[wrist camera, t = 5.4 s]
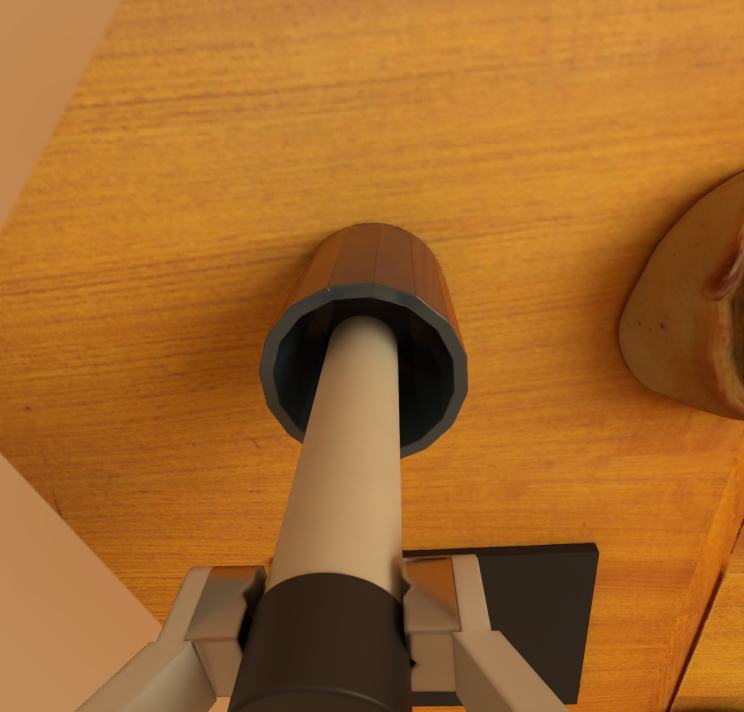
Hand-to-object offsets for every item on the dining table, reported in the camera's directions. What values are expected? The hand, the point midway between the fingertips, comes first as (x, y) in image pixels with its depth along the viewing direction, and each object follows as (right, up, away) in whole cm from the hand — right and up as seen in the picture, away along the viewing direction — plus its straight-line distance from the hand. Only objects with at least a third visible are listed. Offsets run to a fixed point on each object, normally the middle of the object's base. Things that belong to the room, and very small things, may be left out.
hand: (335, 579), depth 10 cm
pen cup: (+1, +8, +15) cm, 17 cm away
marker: (0, +5, +10) cm, 11 cm away
